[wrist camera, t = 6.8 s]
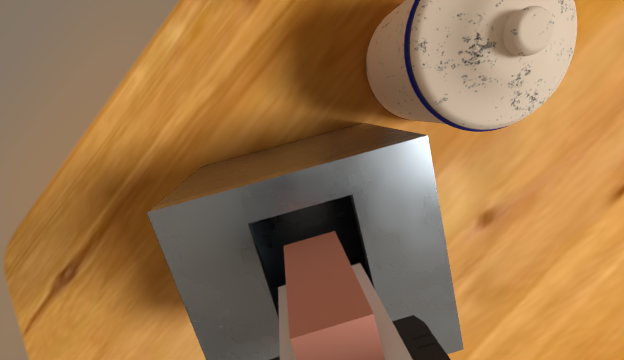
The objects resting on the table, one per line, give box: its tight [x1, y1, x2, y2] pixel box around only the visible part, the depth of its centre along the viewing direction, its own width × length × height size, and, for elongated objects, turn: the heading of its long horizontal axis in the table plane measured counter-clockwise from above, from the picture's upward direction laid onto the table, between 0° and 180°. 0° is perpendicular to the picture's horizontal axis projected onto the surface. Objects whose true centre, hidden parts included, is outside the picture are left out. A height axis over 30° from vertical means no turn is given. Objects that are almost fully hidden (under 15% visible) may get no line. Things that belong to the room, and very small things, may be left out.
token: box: [284, 231, 385, 360], centre depth 13 cm, size 2×6×6 cm, turn 15°
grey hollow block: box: [147, 123, 463, 360], centre depth 22 cm, size 13×12×11 cm
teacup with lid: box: [366, 0, 577, 132], centre depth 19 cm, size 12×9×12 cm
